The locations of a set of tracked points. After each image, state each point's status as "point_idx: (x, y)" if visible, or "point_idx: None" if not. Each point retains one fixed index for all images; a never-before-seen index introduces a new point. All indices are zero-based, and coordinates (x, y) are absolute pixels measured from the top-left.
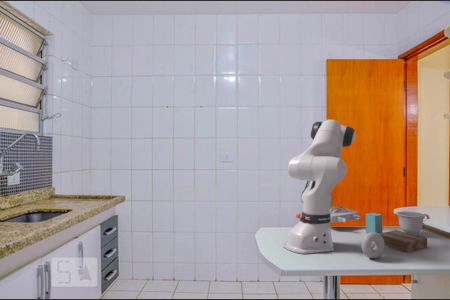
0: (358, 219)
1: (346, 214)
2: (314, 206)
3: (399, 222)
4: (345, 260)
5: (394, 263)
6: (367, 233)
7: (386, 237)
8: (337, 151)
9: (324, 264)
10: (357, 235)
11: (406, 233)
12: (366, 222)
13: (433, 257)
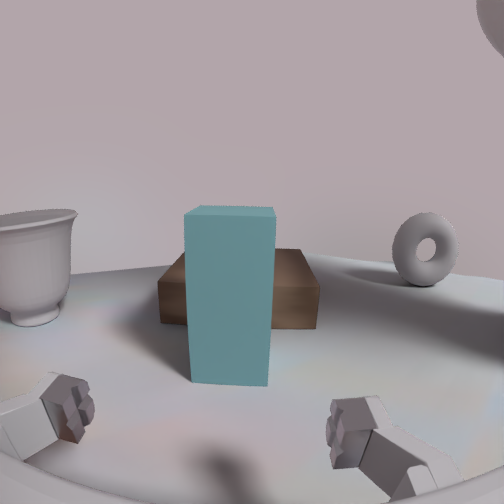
0: (92, 408)
1: (138, 500)
2: None
3: (29, 277)
4: (490, 291)
5: (388, 270)
6: (444, 219)
7: (310, 269)
8: None
9: None
10: (297, 421)
11: (181, 264)
12: (272, 286)
13: None
